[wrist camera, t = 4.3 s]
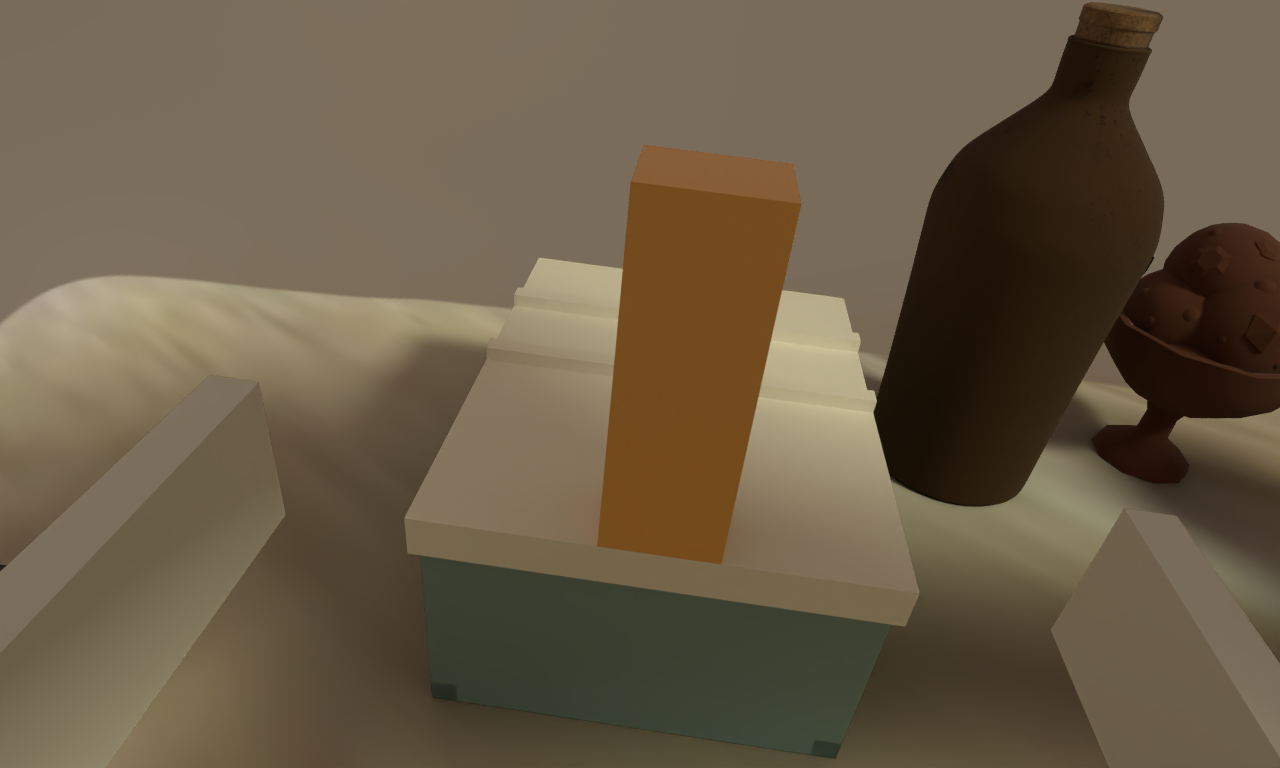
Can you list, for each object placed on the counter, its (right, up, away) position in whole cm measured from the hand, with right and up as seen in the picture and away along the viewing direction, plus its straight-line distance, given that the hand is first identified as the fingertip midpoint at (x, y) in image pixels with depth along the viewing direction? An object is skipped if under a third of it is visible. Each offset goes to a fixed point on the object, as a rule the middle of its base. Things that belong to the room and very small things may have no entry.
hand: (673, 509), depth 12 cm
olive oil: (+18, -3, +35) cm, 40 cm away
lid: (+1, +1, +22) cm, 22 cm away
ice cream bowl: (+31, -3, +37) cm, 49 cm away
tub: (0, -6, +27) cm, 27 cm away
